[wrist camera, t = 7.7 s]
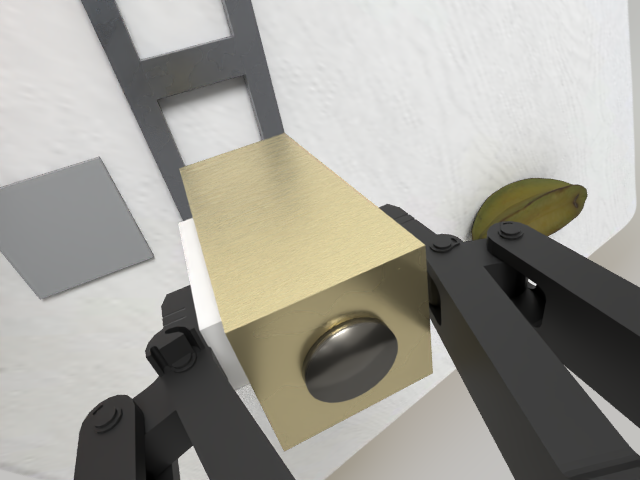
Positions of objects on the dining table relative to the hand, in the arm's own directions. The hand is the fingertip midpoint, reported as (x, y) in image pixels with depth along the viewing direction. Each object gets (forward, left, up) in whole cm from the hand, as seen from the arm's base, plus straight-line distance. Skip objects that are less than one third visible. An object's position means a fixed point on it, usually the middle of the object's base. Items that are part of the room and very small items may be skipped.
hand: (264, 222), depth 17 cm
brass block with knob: (0, 0, -3) cm, 3 cm away
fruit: (+31, -19, -17) cm, 40 cm away
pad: (-12, -4, -17) cm, 21 cm away
